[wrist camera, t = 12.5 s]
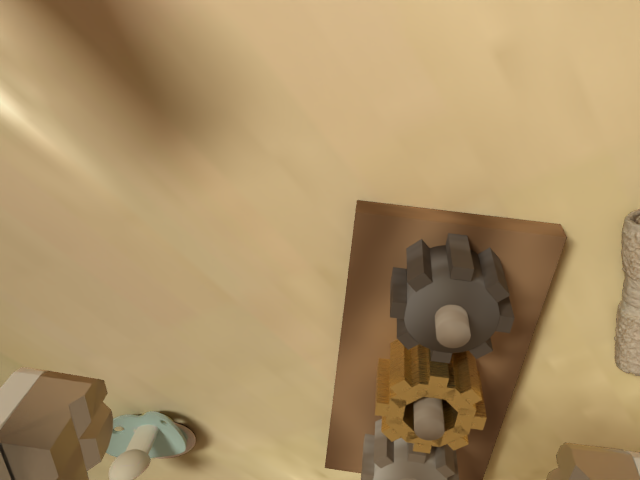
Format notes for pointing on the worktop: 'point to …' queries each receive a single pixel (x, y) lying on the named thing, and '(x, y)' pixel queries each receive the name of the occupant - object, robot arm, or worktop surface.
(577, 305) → the worktop surface
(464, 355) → the brass gear
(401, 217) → the gear board
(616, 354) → the washcloth
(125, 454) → the pacifier
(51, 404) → the robot arm
